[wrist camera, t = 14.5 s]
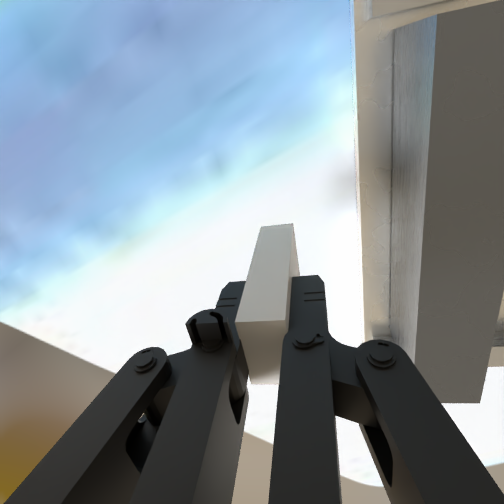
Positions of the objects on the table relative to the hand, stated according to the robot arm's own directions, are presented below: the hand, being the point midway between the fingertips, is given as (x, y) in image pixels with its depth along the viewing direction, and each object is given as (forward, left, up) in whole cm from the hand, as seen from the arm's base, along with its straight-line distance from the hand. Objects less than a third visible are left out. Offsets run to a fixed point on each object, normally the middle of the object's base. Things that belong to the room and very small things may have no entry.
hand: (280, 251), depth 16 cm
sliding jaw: (0, +7, -3) cm, 8 cm away
